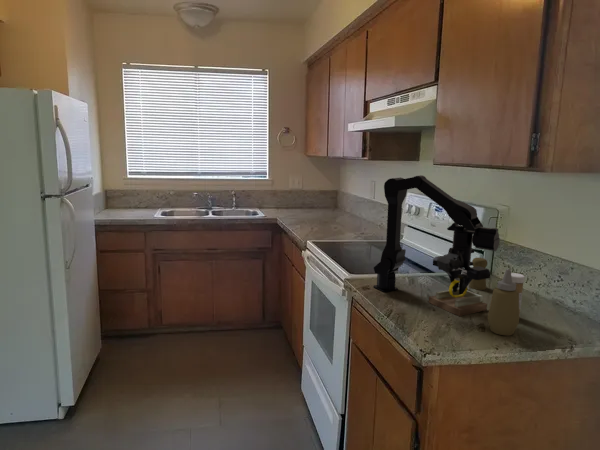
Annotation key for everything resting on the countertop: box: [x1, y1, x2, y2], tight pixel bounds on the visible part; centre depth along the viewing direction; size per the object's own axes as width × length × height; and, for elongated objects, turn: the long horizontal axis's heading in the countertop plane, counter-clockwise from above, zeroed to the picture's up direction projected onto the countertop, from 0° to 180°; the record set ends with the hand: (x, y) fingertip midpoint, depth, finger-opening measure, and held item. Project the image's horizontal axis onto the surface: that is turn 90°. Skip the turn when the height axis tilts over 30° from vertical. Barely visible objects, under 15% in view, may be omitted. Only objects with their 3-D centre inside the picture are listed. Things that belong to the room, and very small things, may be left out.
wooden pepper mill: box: [468, 257, 488, 291], centre depth 163 cm, size 6×6×11 cm
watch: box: [448, 278, 468, 298], centre depth 143 cm, size 6×3×6 cm, turn 106°
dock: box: [428, 287, 488, 317], centre depth 144 cm, size 13×12×4 cm
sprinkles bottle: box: [511, 272, 525, 319], centre depth 135 cm, size 5×5×13 cm
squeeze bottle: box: [487, 268, 520, 337], centre depth 124 cm, size 8×8×18 cm
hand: (457, 292), depth 144 cm, fingers closed on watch, 2 cm apart
